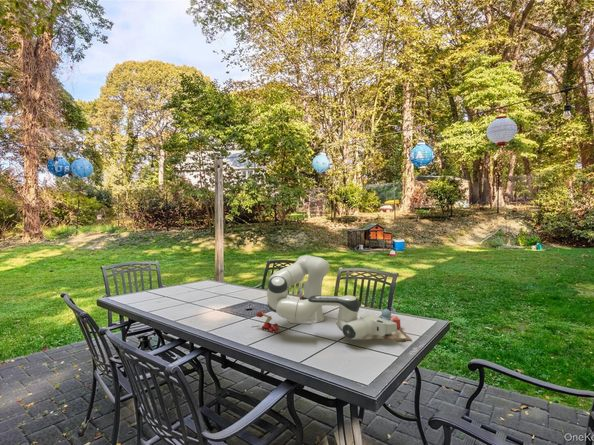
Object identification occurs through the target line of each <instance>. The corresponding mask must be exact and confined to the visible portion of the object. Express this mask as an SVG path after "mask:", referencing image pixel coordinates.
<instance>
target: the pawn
mask: <svg viewBox="0 0 594 445" xmlns="http://www.w3.org/2000/svg"><path fill="white" fill-rule="evenodd" d="M381 316H382V318H383V319H386V320H389V319H391V316H392V312H391V310H390V309H388V308H385V309H382V311H381ZM390 334H392V333H389V334H385V335H390Z"/></svg>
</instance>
